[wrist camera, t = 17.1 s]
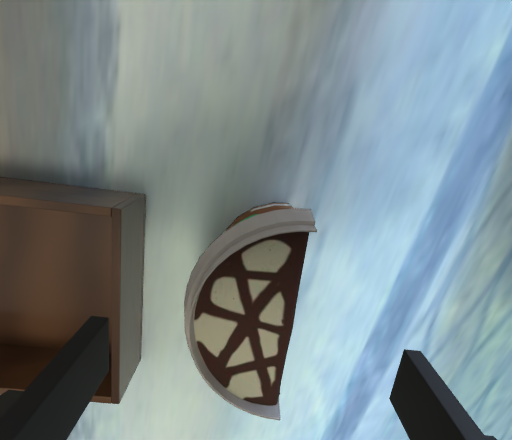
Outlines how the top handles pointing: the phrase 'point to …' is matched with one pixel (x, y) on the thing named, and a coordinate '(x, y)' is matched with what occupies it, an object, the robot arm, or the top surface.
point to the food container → (248, 305)
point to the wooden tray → (69, 277)
